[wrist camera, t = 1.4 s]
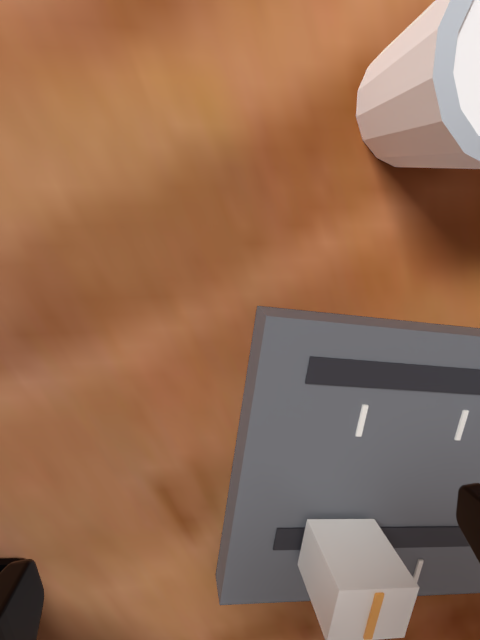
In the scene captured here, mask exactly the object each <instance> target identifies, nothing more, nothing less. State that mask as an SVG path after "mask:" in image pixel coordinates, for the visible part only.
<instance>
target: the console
mask: <svg viewBox="0 0 480 640" xmlns="http://www.w3.org/2000/svg"><path fill="white" fill-rule="evenodd" d="M472 483H480V328H471V327H461V326H451V325H441V324H431V323H421V322H412V321H402V320H392V319H382V318H372V317H362V316H352V315H342V314H333V313H323V312H313V311H303V310H293V309H283V308H273V307H263V306H257V311H256V318H255V324H254V331H253V337H252V343H251V350H250V356H249V363H248V369H247V376H246V382H245V389H244V395H243V402H242V408H241V415H240V421H239V427H238V434H237V440H236V447H235V453H234V460H233V466H232V473H231V479H230V486H229V492H228V498H227V505H226V511H225V518H224V524H223V531H222V537H221V544H220V550H219V557H218V563H217V569H216V582H217V589H218V596H219V604H220V605H232V604H253V603H275V602H296V601H311V600H310V597H309V594H308V592H307V589H306V586H305V583H304V581H303V578H302V575H301V572H300V570H299V567H298V560H299V555H300V550H301V545H302V541H303V536H304V531H305V527H306V522H307V519H375V521H376V522H377V524H378V525H379V527H380V528H381V530H382V531H383V533H384V534H385V536H386V537H387V539H388V540H389V542H390V543H391V545H392V546H393V548H394V549H395V551H396V553H397V554H398V556H399V557H400V559H401V560H402V562H403V563H404V565H405V566H406V568H407V569H408V571H409V572H410V574H411V575H412V577H413V578H414V580H415V581H416V583H417V584H418V586H419V587H420V588H419V591H418V594H417V596H425V595H446V594H468V593H480V563H479V561H478V560H477V558H476V556H475V554H474V553H473V551H472V549H471V547H470V545H469V544H468V542H467V540H466V538H465V537H464V535H463V533H462V531H461V529H460V528H459V525H458V523H457V519H456V508H457V498H458V490H459V488H460V486H462V485H466V484H472Z"/></svg>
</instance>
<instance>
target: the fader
mask: <svg viewBox="0 0 480 640" xmlns="http://www.w3.org/2000/svg"><path fill="white" fill-rule="evenodd" d="M298 567H299V570H300V572H301V575H302V578H303V581H304V583H305V586H306V589H307V592H308V594H309V597H310V600H311V603H312V605H313V608H314V611H315V614H316V616H317V619H318V622H319V624H320V627H321V630H322V633H323V635H324V638H325V640H377V639H391V638H404V637H405V633H406V630H407V627H408V624H409V620H410V617H411V614H412V610H413V607H414V604H415V601H416V597H417V594H418V591H419V588H420V587H419V586H418V584H417V583H416V581H415V580H414V578H413V577H412V575H411V574H410V572H409V571H408V569H407V568H406V566H405V565H404V563H403V562H402V560H401V559H400V557H399V556H398V554H397V553H396V551H395V549H394V548H393V546H392V545H391V543H390V542H389V540H388V539H387V537H386V536H385V534H384V533H383V531H382V530H381V528H380V527H379V525H378V524H377V522H376V521H375V519H307V522H306V527H305V531H304V536H303V541H302V545H301V550H300V555H299V560H298Z"/></svg>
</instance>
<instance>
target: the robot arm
mask: <svg viewBox="0 0 480 640" xmlns="http://www.w3.org/2000/svg"><path fill="white" fill-rule="evenodd" d="M456 519H457V523H458V525H459V528H460V529H461V531H462V533H463V535H464V537H465V538H466V540H467V542H468V544H469V545H470V547H471V549H472V551H473V553H474V554H475V556H476V558H477V560H478V561H479V563H480V483H472V484H466V485H462V486H460V488H459V490H458V498H457V508H456ZM43 602H44V589H43V585H42V582H41V579H40V576H39V573H38V569H37V566H36V564H35V562H34V560H32V559H26V560H20V559H0V640H36V639H37V634H38V629H39V623H40V618H41V613H42V607H43Z"/></svg>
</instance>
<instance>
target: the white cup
mask: <svg viewBox="0 0 480 640" xmlns="http://www.w3.org/2000/svg"><path fill="white" fill-rule="evenodd" d="M356 119H357V122H358V126H359V129H360V133H361V136H362V140H363V141H364V143H365V144H366V145H367V146H368V148H369V149H370V150H371V151H372V153H373V154H374V155H375V157H376V158H378V159H380V160H382V161H384V162H386V163H388V164H390V165H392V166H394V167H412V168H454V169H480V0H435V1H434V2H433V3H432V4H431V5H430V6H429V7H428V8H427V9H426V10H425V11H424V12H423V13H422V14H421V15H420V16H419V17H418V18H417V19H416V20H415V21H413V22H412V23H411V24H410V25H409V26H408V27H407V28H406V29H405V30H404V31H403V32H402V33H401V34H400V35H399V36H398V37H397V38H396V39H395V40H394V41H393V42H391V43H390V44H389V45H388V46H387V47H386V48H385V49H384V50H383V51H382V52H381V53H380V55H379V56H378V57H377V58H376V59H375V60H374V61H373V62H372V63H371V64H370V65H369V66H368V68H367V70H366V73H365V75H364V77H363V80H362V82H361V84H360V87H359V89H358V94H357V109H356Z"/></svg>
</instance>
